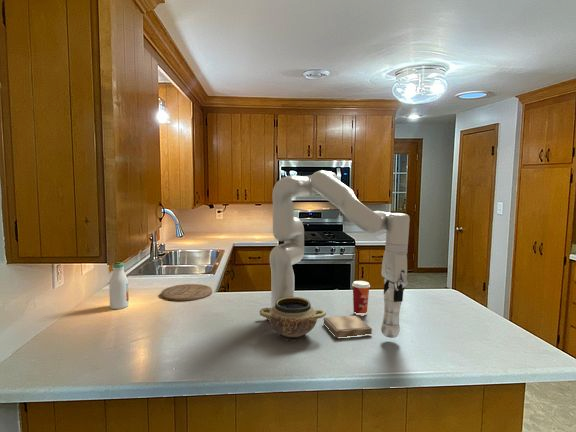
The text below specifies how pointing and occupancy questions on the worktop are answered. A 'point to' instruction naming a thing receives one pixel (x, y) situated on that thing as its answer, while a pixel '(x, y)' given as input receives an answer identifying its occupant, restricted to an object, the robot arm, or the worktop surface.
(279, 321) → the ceramic bowl
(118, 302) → the milk bottle
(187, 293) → the trivet
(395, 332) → the plastic bottle
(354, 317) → the plinth
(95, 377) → the worktop surface
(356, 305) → the paper cup
